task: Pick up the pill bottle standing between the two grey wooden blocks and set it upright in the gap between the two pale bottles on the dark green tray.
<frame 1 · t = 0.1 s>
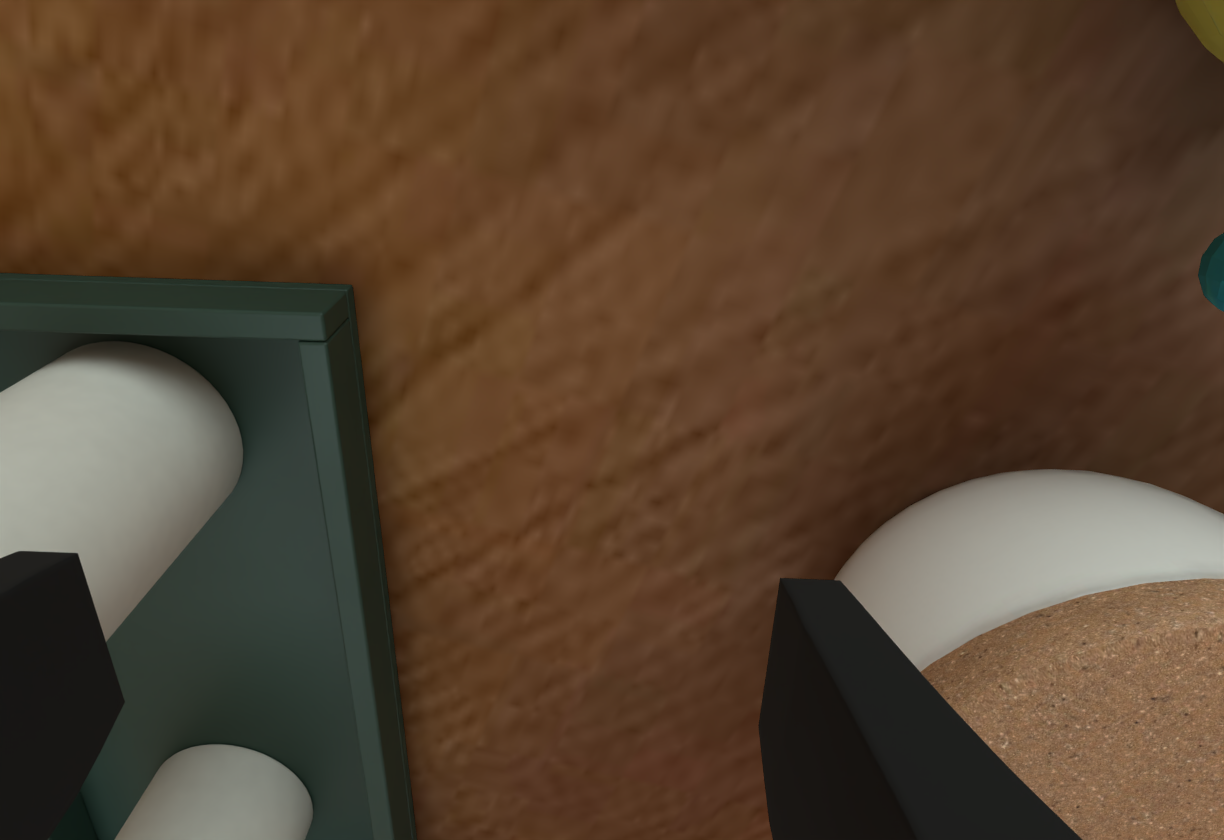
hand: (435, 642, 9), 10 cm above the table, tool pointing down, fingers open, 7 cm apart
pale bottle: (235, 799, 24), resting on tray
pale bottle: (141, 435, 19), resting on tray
trinket box: (972, 579, 21), on the table
tray: (201, 629, 22), on the table
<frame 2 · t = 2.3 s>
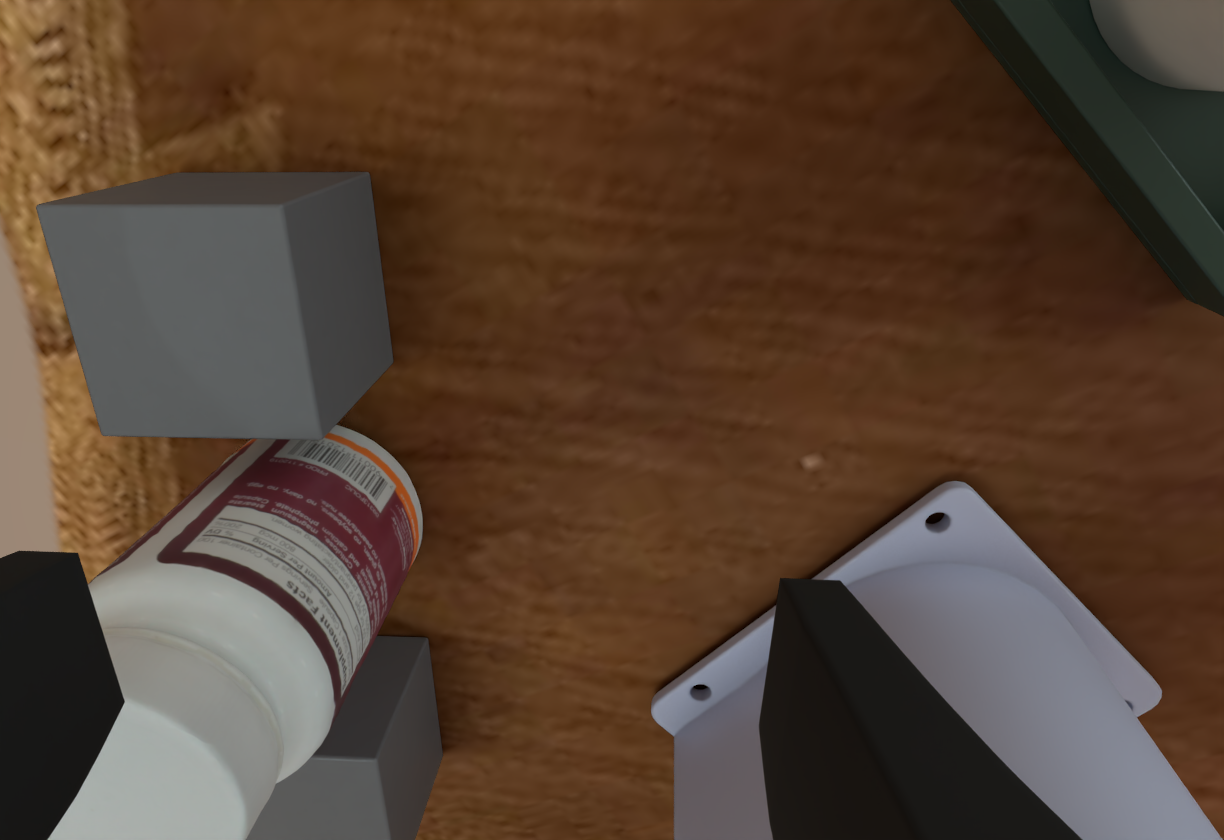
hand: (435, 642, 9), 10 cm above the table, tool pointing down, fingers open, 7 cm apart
pill bottle: (333, 504, 20), on the table
grey block 1: (289, 271, 17), on the table
grey block 2: (362, 694, 22), on the table
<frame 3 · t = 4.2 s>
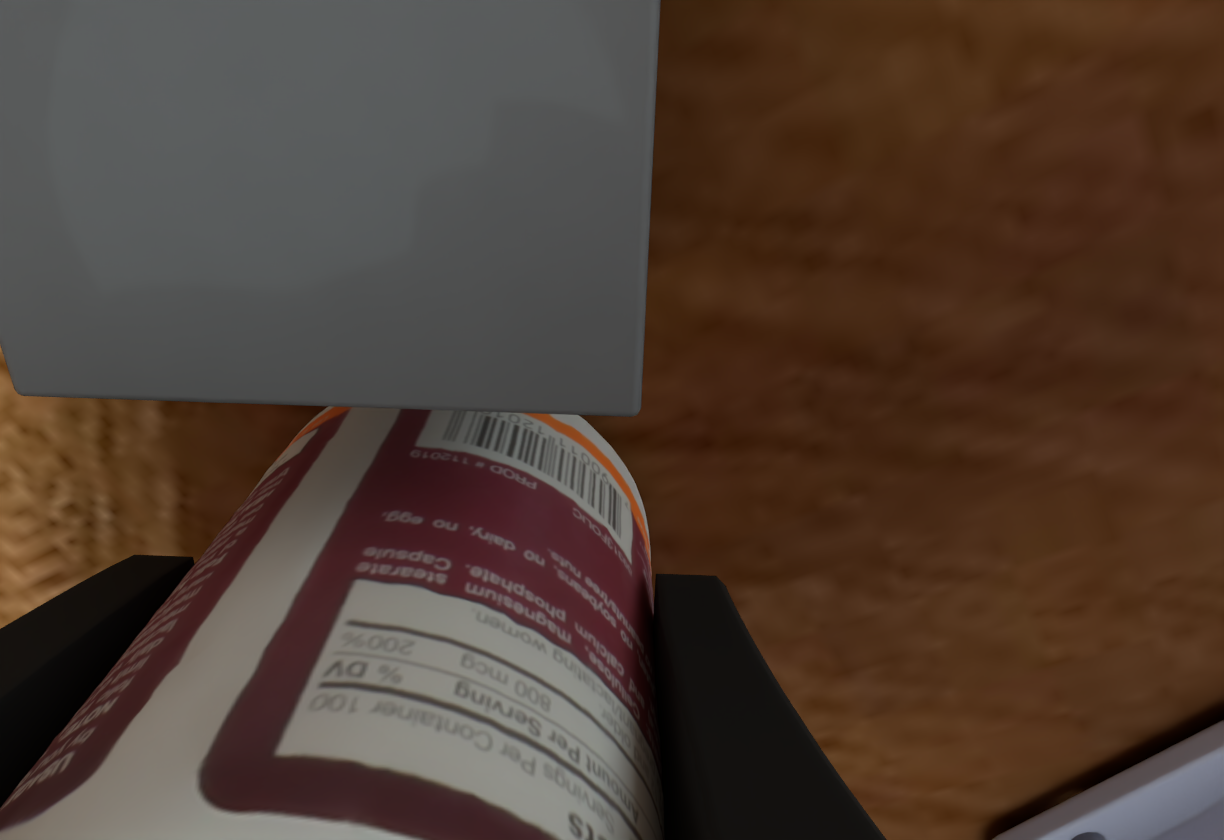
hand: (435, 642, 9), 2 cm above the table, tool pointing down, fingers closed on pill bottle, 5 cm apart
pill bottle: (470, 525, 11), on the table, touching gripper
grey block 1: (438, 44, 8), on the table
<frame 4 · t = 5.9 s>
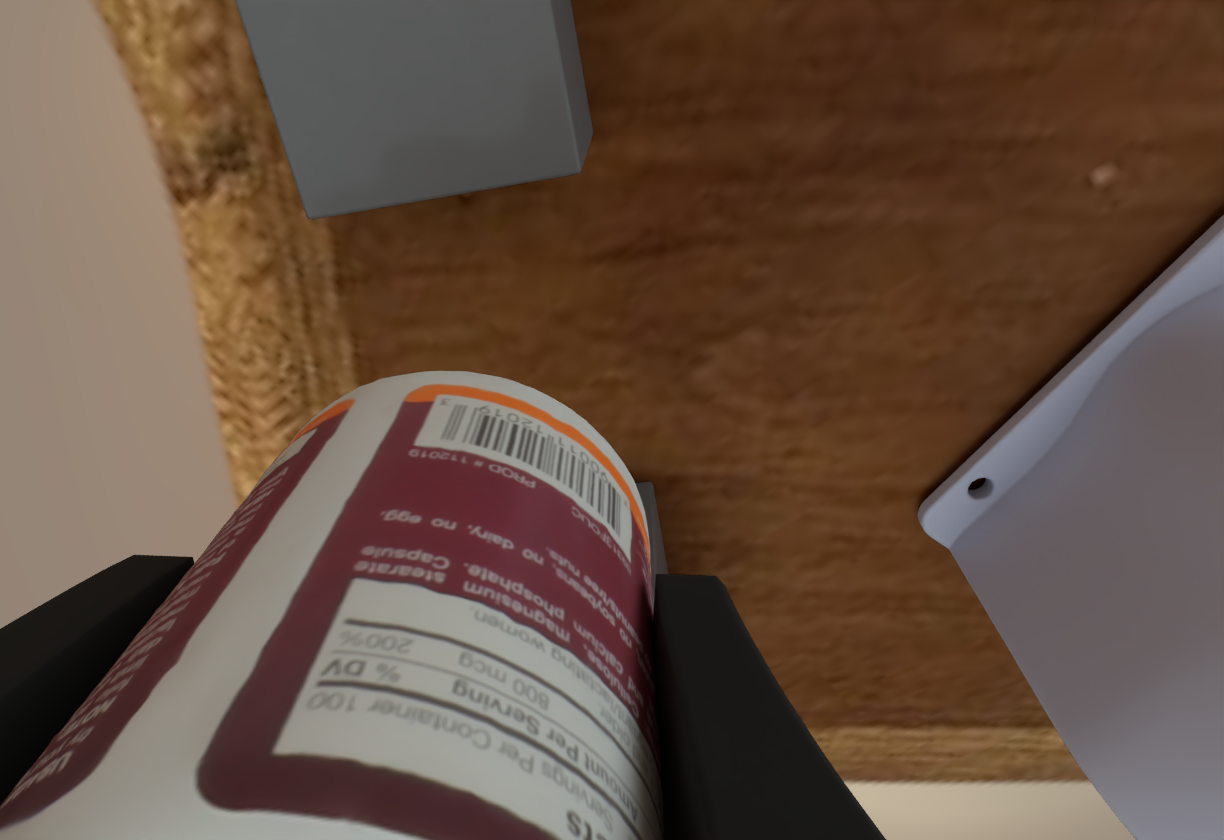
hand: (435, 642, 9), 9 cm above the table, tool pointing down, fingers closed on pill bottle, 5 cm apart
pill bottle: (469, 524, 11), point 7 cm above the table, touching gripper
grey block 1: (460, 36, 14), on the table
grey block 2: (580, 564, 19), on the table
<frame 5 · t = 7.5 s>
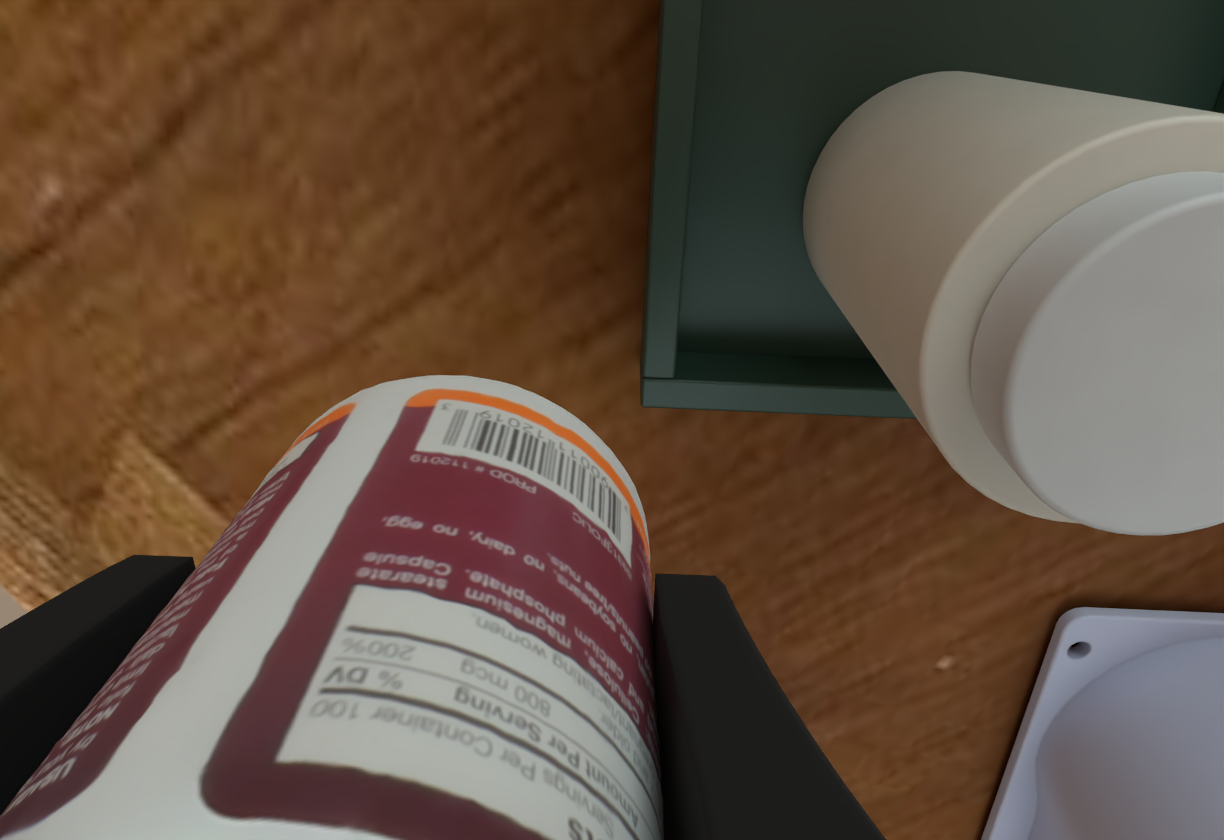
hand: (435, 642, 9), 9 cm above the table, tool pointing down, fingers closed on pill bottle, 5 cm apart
pill bottle: (469, 528, 11), point 7 cm above the table, touching gripper
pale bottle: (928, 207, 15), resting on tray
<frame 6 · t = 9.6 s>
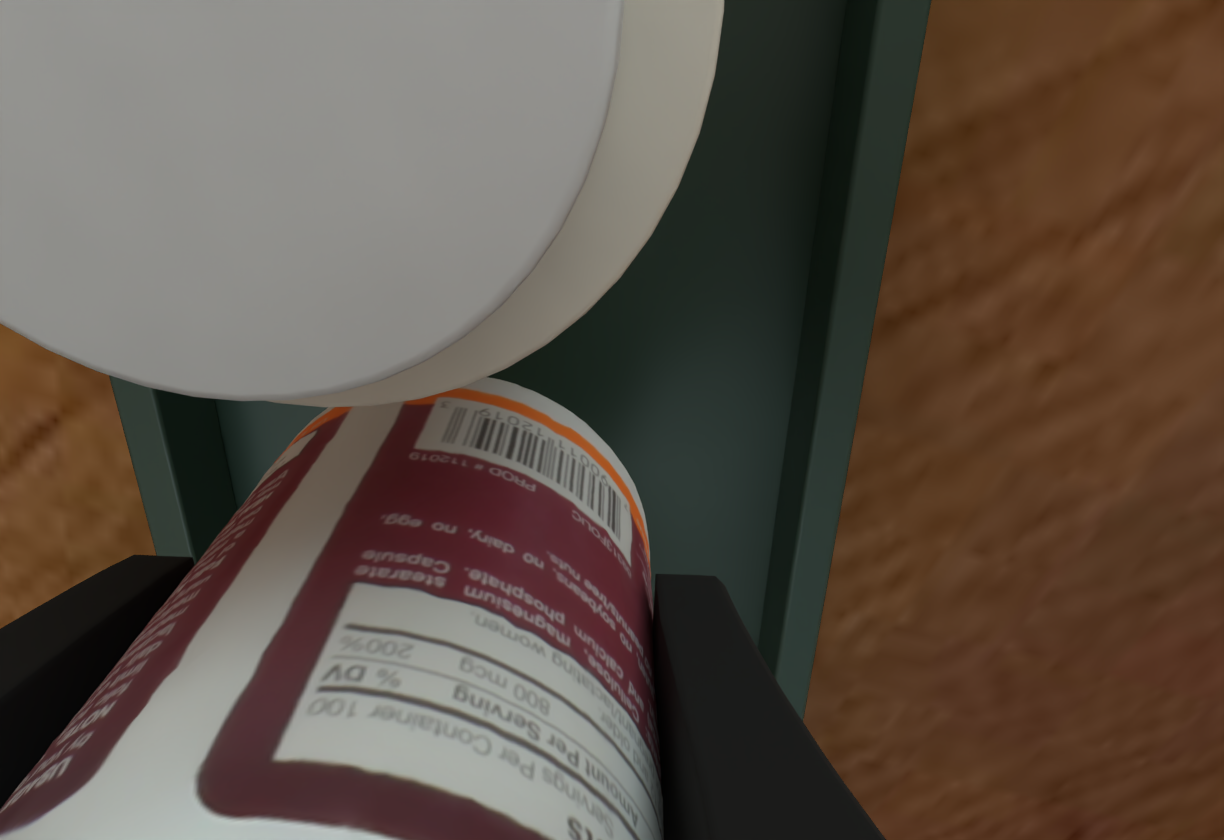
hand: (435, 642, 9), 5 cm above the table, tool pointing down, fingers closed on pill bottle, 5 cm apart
pill bottle: (469, 526, 11), point 3 cm above the table, touching gripper
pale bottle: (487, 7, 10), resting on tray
tray: (505, 419, 13), on the table
when the fingers open (2 cm above the table, at t = 11.0 s): pill bottle stays where it is, resting on tray.
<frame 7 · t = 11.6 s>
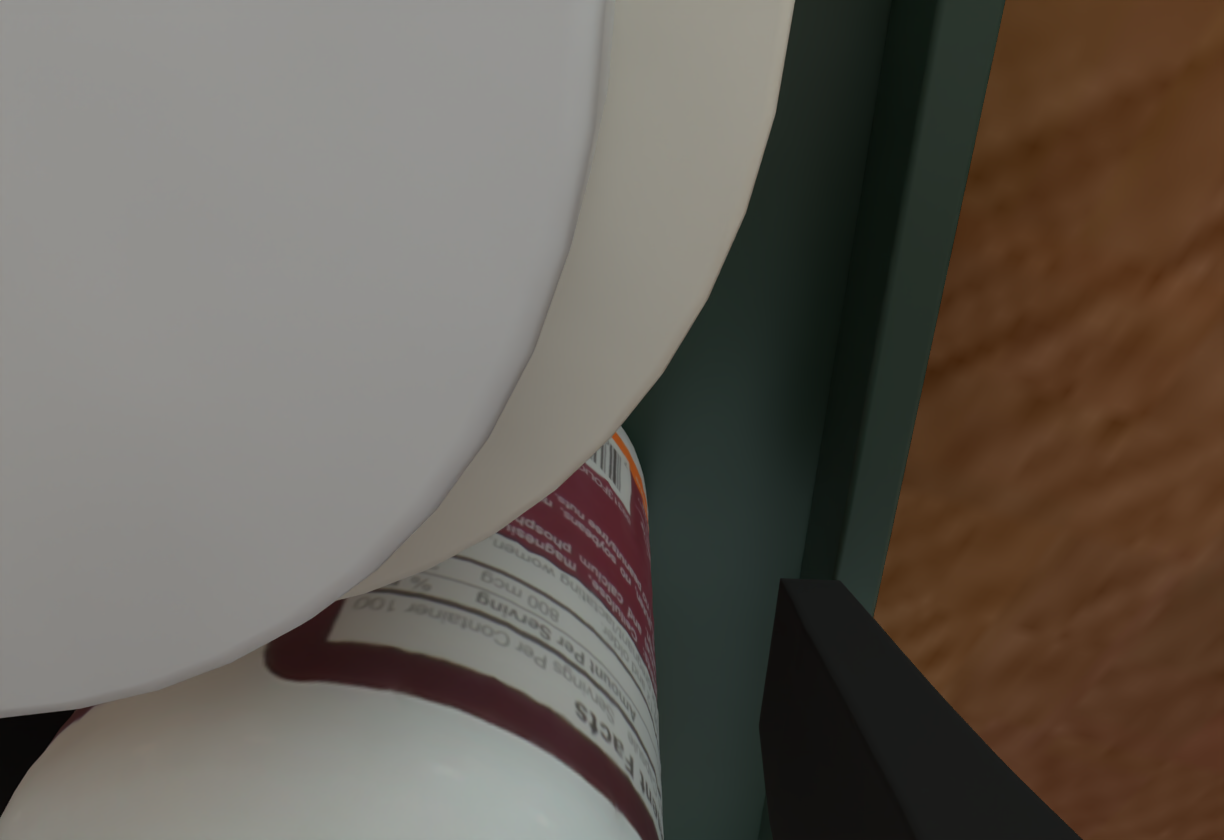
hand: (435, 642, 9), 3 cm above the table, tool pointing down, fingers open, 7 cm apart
pill bottle: (480, 489, 11), resting on tray
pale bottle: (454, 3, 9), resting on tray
tray: (484, 481, 12), on the table
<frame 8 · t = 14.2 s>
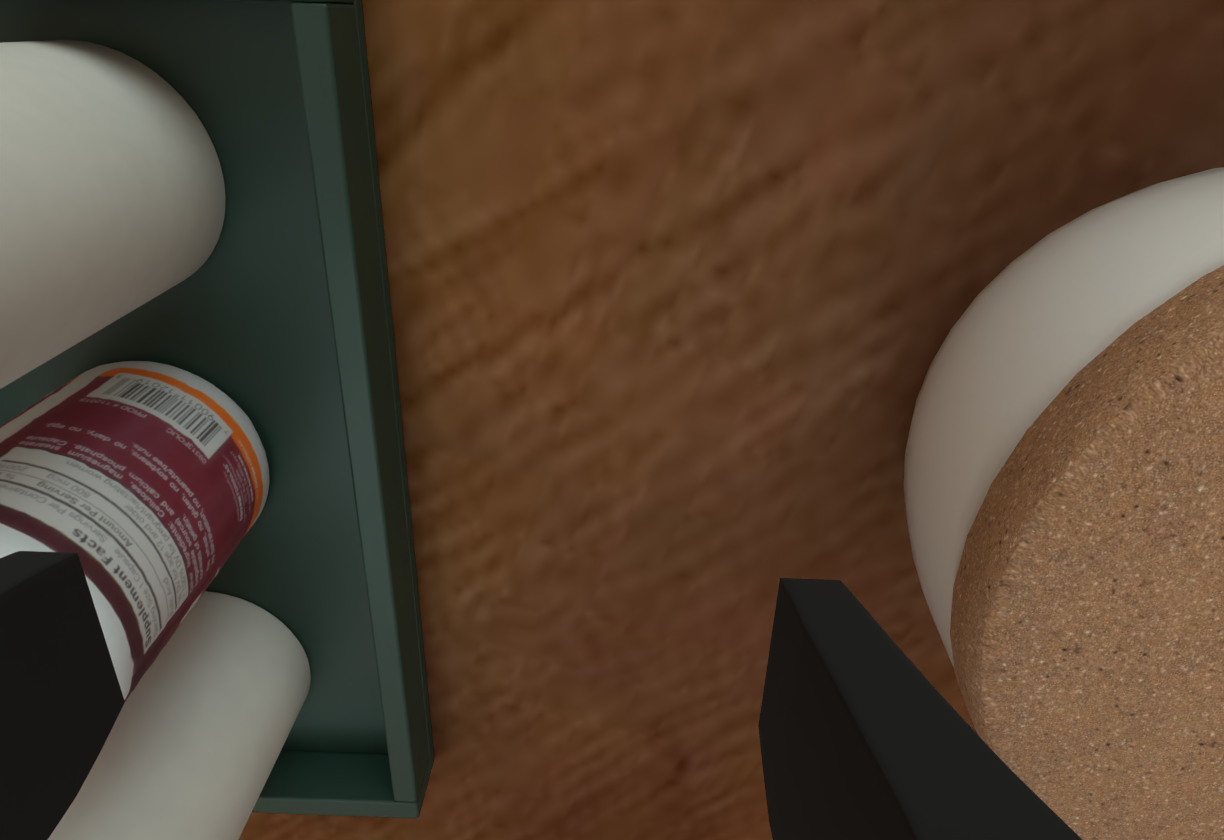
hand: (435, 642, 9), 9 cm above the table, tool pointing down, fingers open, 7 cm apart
pill bottle: (173, 450, 18), resting on tray
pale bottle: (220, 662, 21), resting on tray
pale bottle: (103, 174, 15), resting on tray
trinket box: (1093, 376, 17), on the table
tray: (179, 445, 18), on the table
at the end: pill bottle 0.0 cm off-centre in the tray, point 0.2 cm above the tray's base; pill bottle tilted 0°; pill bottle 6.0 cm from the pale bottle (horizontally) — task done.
